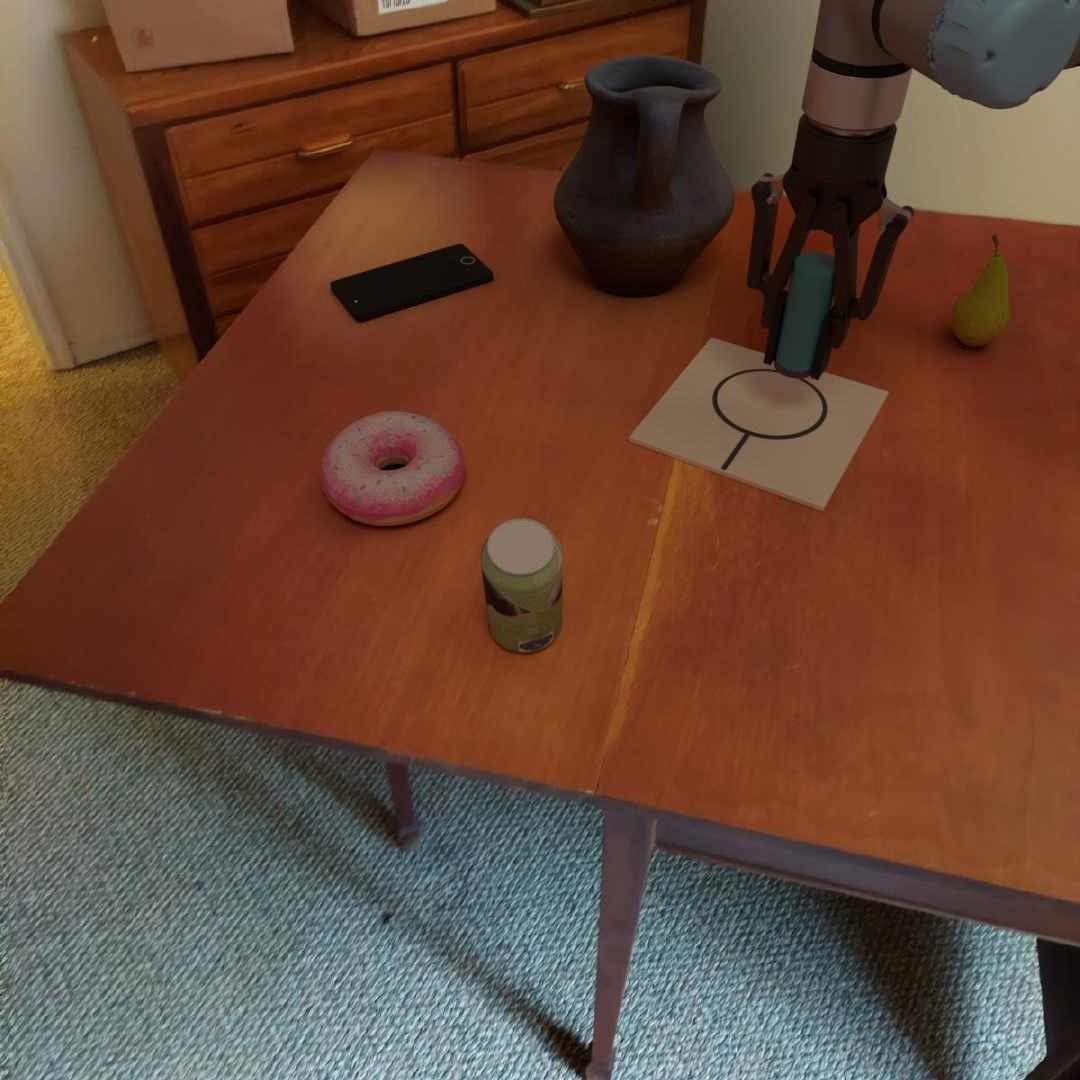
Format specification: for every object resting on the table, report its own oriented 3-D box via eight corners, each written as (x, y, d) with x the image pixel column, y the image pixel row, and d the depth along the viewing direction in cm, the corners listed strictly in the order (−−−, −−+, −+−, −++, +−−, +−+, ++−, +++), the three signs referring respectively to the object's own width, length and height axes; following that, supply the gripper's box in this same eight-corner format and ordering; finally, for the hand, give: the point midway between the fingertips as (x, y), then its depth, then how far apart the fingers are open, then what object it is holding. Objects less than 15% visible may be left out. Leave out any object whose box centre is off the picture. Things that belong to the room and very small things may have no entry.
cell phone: (495, 280, 116) (495, 273, 115) (357, 323, 110) (356, 316, 109) (462, 248, 121) (461, 242, 121) (329, 288, 115) (328, 281, 114)
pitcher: (708, 231, 124) (734, 23, 106) (739, 325, 109) (775, 101, 91) (550, 236, 123) (549, 28, 106) (558, 331, 108) (559, 107, 90)
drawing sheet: (888, 396, 99) (889, 390, 99) (822, 512, 87) (824, 506, 87) (710, 341, 107) (711, 335, 106) (628, 441, 95) (628, 435, 94)
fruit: (987, 364, 103) (1027, 263, 94) (935, 346, 105) (968, 246, 97) (1005, 339, 106) (1045, 240, 97) (954, 322, 109) (988, 224, 100)
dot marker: (821, 361, 92) (846, 258, 84) (807, 383, 90) (831, 279, 82) (782, 349, 94) (803, 247, 86) (767, 370, 91) (787, 267, 83)
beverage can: (555, 596, 81) (554, 493, 72) (571, 665, 76) (573, 563, 67) (481, 606, 80) (472, 503, 71) (493, 677, 75) (484, 575, 66)
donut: (387, 560, 84) (380, 520, 80) (295, 491, 90) (284, 450, 87) (495, 483, 91) (492, 443, 87) (402, 424, 97) (396, 384, 94)
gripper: (972, 121, 74) (895, 370, 91) (764, 80, 80) (728, 320, 97) (947, 159, 69) (870, 413, 86) (728, 112, 76) (697, 358, 92)
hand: (795, 363), depth 91 cm, fingers closed on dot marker, 4 cm apart
